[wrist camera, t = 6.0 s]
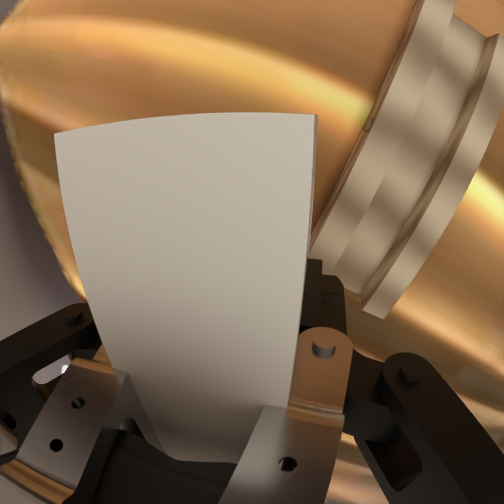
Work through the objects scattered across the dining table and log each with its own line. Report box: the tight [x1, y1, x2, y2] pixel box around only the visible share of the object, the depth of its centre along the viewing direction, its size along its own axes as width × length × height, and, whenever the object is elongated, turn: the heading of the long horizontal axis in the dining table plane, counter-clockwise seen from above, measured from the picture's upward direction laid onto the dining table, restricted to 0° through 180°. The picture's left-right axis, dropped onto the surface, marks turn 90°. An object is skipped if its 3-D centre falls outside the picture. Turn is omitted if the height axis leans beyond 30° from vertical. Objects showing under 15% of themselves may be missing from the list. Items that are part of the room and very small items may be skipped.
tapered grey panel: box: [54, 112, 318, 464], centre depth 9 cm, size 11×3×8 cm, turn 0°
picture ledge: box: [308, 0, 504, 319], centre depth 21 cm, size 28×10×4 cm, turn 159°
